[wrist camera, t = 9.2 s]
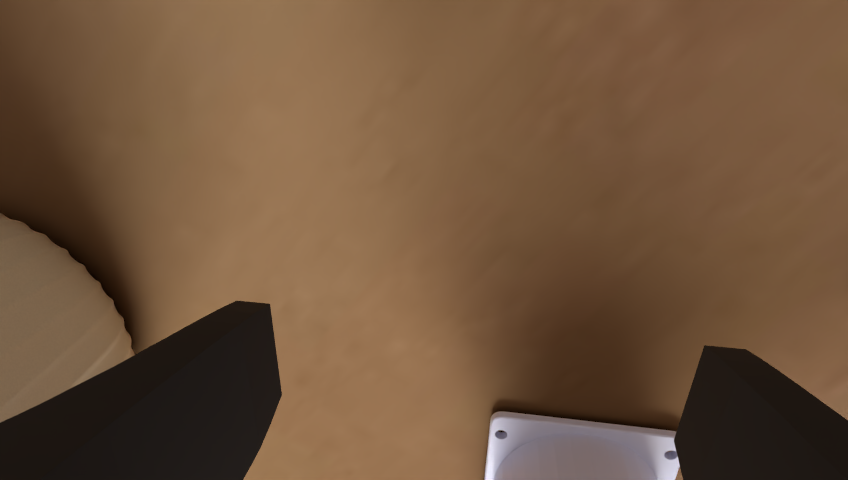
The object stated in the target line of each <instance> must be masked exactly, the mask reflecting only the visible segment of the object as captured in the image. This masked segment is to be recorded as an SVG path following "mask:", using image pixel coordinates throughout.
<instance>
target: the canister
mask: <svg viewBox="0 0 848 480" xmlns="http://www.w3.org/2000/svg"><path fill="white" fill-rule="evenodd" d="M134 355H135V354H134V352H133V350H132V348H131V336H130V335H129V333H128V332H127V331H126V329H125V327H124V319H123V317H122V316H121V315H120V314H119V313H118V312H117V310H116V308H115V306H114V301H113V299H111V298H110V297H108V296H107V295H106V293H105V292H104V291H103V289H102V287H101V283H100V282H99V281H97V280H95V279H94V278H93V277H92V276H91V275H90V274H89V273H88V271H87V270H86V268H85V266H84V265H83V264H80V263H78V262H77V261H76V260H74V259H73V258H72V257H71V256H70V255H69V253H68V251H67V250H66V249H64V248H61V247H59V246H57V245H56V244H54V243H53V242H52V241H51V240H50V239H49V238H48V237H47V236H46V235H45V234H42V233H39V232H35V231H33V230H32V229H30V228H29V226H28V225H26V224H25V223H23V222H21V221H18V220H12V219H9V218H8V217H6V216H5V215H3V214H2V213H0V422H3V421H5V420H7V419H9V418H11V417H13V416H16V415H18V414H20V413H22V412H24V411H26V410H28V409H30V408H33V407H35V406H37V405H39V404H41V403H43V402H45V401H47V400H49V399H51V398H53V397H55V396H57V395H59V394H61V393H63V392H64V391H66V390H68V389H70V388H72V387H74V386H76V385H78V384H80V383H82V382H84V381H86V380H88V379H90V378H92V377H94V376H96V375H98V374H100V373H102V372H104V371H106V370H108V369H110V368H112V367H114V366H116V365H117V364H119V363H121V362H123V361H125V360H127V359H128V358H130V357H132V356H134Z"/></svg>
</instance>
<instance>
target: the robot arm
mask: <svg viewBox="0 0 848 480" xmlns="http://www.w3.org/2000/svg"><path fill="white" fill-rule="evenodd" d="M281 395H282V392H281V385H280V377H279V370H278V362H277V355H276V347H275V339H274V332H273V324H272V317H271V309H270V304H265V303H255V302H244V301H235V302H233V303H231V304H229V305H227V306H224V307H222V308H220V309H218V310H217V311H215V312H213V313H211V314H209V315H207V316H205V317H203V318H201V319H200V320H198V321H196V322H194V323H192V324H190V325H189V326H187V327H185V328H183V329H181V330H180V331H178V332H176V333H174V334H172V335H170V336H169V337H167V338H165V339H163V340H161V341H160V342H158V343H156V344H154V345H152V346H150V347H149V348H147V349H145V350H143V351H141V352H139V353H138V354H136V355H134V356H132V357H130V358H128V359H127V360H125V361H123V362H121V363H119V364H117V365H116V366H114V367H112V368H110V369H108V370H106V371H104V372H102V373H100V374H98V375H96V376H94V377H92V378H90V379H88V380H86V381H84V382H82V383H80V384H78V385H76V386H74V387H72V388H70V389H68V390H66V391H64V392H63V393H61V394H59V395H57V396H55V397H53V398H51V399H49V400H47V401H45V402H43V403H41V404H39V405H37V406H35V407H33V408H30V409H28V410H26V411H24V412H22V413H20V414H18V415H16V416H13V417H11V418H9V419H7V420H5V421H3V422H0V480H243V479H244V477H245V475H246V473H247V472H248V470H249V468H250V466H251V464H252V463H253V461H254V459H255V457H256V455H257V453H258V451H259V449H260V448H261V445H262V443H263V440H264V438H265V436H266V433H267V431H268V429H269V426H270V424H271V421H272V419H273V416H274V413H275V411H276V408H277V406H278V403H279V401H280V398H281ZM498 430H503V431H505V432H498ZM667 451H671V452H667ZM679 467H680V468H681V473H682V476H683V480H848V420H846V419H845V418H844V417H842V416H841V415H839V414H838V413H837V412H835V411H834V410H833V409H831V408H830V407H828V406H827V405H826V404H824V403H823V402H821V401H820V400H819V399H817V398H816V397H815V396H813V395H812V394H810V393H809V392H808V391H806V390H805V389H803V388H802V387H801V386H799V385H798V384H796V383H795V382H794V381H792V380H791V379H789V378H788V377H787V376H785V375H784V374H782V373H781V372H779V371H778V370H777V369H775V368H774V367H772V366H771V365H769V364H768V363H766V362H765V361H763V360H762V359H760V358H759V357H757V356H756V355H754V354H752V353H751V352H749V351H747V350H746V349H736V348H725V347H715V346H704V349H703V352H702V355H701V358H700V361H699V364H698V367H697V370H696V373H695V376H694V380H693V383H692V386H691V389H690V392H689V395H688V398H687V401H686V404H685V407H684V410H683V413H682V416H681V420H680V423H679V426H678V429H677V432H676V431H670V430H661V429H652V428H644V427H635V426H626V425H618V424H609V423H600V422H592V421H583V420H574V419H566V418H557V417H548V416H540V415H531V414H522V413H513V412H505V411H499V412H496V413H494V414H493V415H492V416H491V419H490V429H489V438H488V448H487V457H486V467H485V476H484V480H675V478H676V475H677V473H678V470H679Z"/></svg>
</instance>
